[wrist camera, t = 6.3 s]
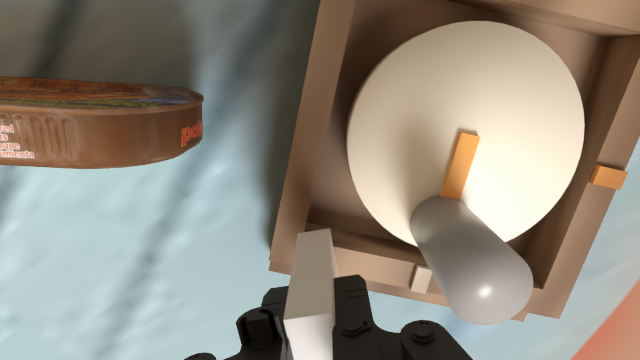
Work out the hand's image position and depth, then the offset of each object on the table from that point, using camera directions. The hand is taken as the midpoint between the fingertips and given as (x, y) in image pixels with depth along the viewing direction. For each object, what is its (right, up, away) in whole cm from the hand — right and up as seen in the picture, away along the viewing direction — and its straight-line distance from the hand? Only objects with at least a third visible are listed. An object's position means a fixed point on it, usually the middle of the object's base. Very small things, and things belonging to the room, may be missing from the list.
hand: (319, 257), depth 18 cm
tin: (-13, +8, +5) cm, 16 cm away
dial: (+7, +6, +2) cm, 9 cm away
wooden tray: (+7, +7, +5) cm, 11 cm away
